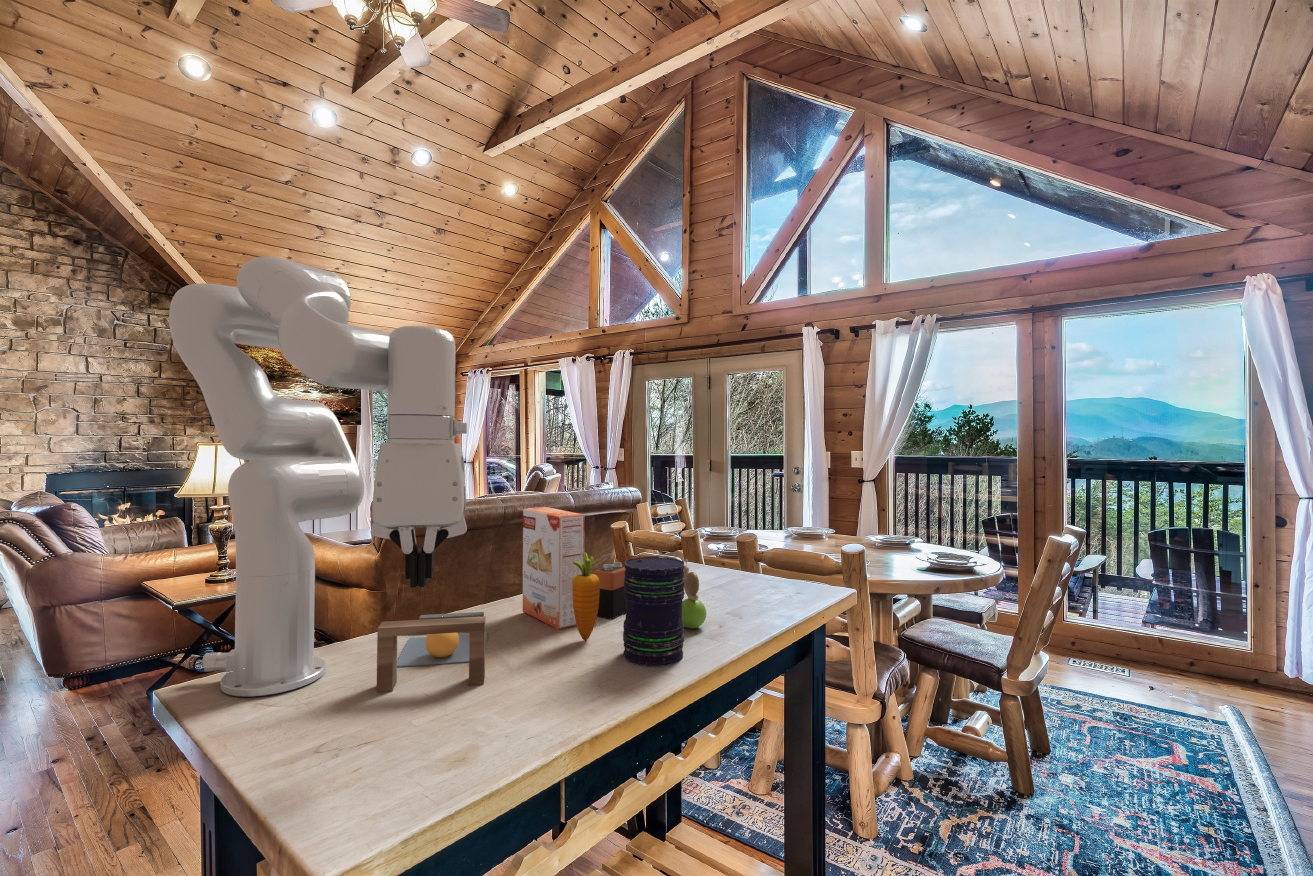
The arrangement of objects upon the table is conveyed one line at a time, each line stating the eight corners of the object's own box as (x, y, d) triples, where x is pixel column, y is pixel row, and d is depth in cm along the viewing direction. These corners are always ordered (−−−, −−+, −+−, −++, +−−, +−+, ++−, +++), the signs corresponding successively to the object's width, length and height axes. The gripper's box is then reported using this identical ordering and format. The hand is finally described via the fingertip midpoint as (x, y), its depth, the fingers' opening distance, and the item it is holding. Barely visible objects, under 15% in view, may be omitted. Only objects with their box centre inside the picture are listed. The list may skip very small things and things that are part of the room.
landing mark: (393, 667, 90) (394, 666, 90) (409, 639, 103) (409, 638, 103) (483, 661, 93) (483, 660, 93) (487, 634, 106) (487, 633, 106)
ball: (428, 640, 98) (425, 666, 94) (425, 619, 95) (422, 646, 91) (460, 636, 99) (459, 662, 95) (458, 616, 96) (456, 642, 92)
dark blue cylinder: (695, 653, 98) (696, 561, 98) (662, 672, 90) (663, 572, 90) (645, 641, 103) (646, 554, 104) (610, 657, 95) (611, 563, 95)
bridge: (483, 684, 84) (484, 622, 84) (376, 692, 81) (377, 628, 81) (484, 676, 87) (485, 616, 87) (381, 683, 84) (382, 621, 84)
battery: (593, 616, 117) (594, 565, 117) (612, 608, 123) (613, 559, 123) (612, 620, 115) (612, 568, 115) (630, 611, 121) (631, 562, 121)
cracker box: (520, 613, 119) (521, 508, 119) (546, 607, 123) (548, 506, 123) (556, 630, 108) (558, 515, 108) (584, 624, 112) (586, 513, 112)
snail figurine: (696, 620, 115) (697, 558, 116) (711, 630, 110) (712, 565, 110) (670, 623, 114) (671, 560, 114) (684, 633, 108) (684, 567, 108)
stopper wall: (418, 632, 106) (419, 618, 106) (420, 628, 108) (420, 615, 108) (483, 628, 109) (483, 615, 109) (483, 625, 111) (483, 611, 111)
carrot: (594, 646, 100) (595, 557, 100) (566, 644, 101) (567, 555, 101) (603, 637, 105) (604, 551, 105) (576, 635, 106) (577, 550, 106)
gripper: (487, 432, 77) (485, 575, 77) (361, 431, 74) (359, 580, 74) (484, 432, 70) (482, 589, 70) (344, 430, 66) (342, 595, 66)
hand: (419, 584), depth 72 cm, fingers closed
